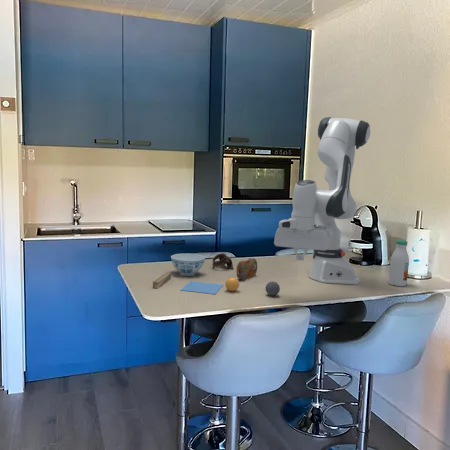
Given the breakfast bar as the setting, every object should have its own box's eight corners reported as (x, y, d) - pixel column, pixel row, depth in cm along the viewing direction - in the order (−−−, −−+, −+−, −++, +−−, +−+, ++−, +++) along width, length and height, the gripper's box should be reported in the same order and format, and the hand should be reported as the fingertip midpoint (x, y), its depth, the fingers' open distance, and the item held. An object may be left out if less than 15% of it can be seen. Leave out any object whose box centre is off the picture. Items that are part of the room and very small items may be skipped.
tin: (240, 281, 194) (242, 262, 193) (234, 280, 196) (235, 261, 195) (257, 275, 207) (258, 257, 206) (251, 274, 208) (252, 256, 207)
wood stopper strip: (170, 278, 193) (171, 273, 192) (157, 288, 177) (157, 282, 177) (166, 278, 193) (166, 272, 193) (152, 288, 178) (152, 281, 177)
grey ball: (279, 294, 178) (280, 280, 178) (278, 298, 173) (279, 284, 172) (266, 292, 179) (266, 279, 179) (264, 296, 174) (265, 282, 173)
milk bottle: (397, 287, 198) (402, 242, 196) (384, 282, 205) (388, 239, 202) (410, 286, 202) (415, 241, 199) (396, 281, 209) (401, 238, 206)
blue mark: (223, 285, 187) (223, 284, 187) (215, 294, 174) (215, 293, 174) (190, 281, 190) (190, 281, 190) (180, 290, 176) (180, 289, 176)
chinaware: (180, 268, 212) (181, 252, 211) (209, 272, 207) (210, 256, 206) (164, 275, 199) (164, 257, 197) (195, 280, 193) (195, 262, 192)
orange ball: (239, 289, 181) (240, 276, 181) (237, 293, 176) (238, 279, 175) (226, 288, 183) (227, 275, 182) (223, 292, 177) (224, 278, 176)
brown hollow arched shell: (235, 272, 213) (229, 257, 210) (217, 279, 214) (210, 265, 211) (232, 260, 224) (226, 246, 221) (215, 267, 225) (208, 254, 222)
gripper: (330, 224, 171) (327, 260, 173) (276, 220, 175) (274, 255, 177) (331, 227, 165) (327, 264, 167) (274, 222, 169) (272, 258, 171)
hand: (299, 259), depth 172 cm, fingers closed
